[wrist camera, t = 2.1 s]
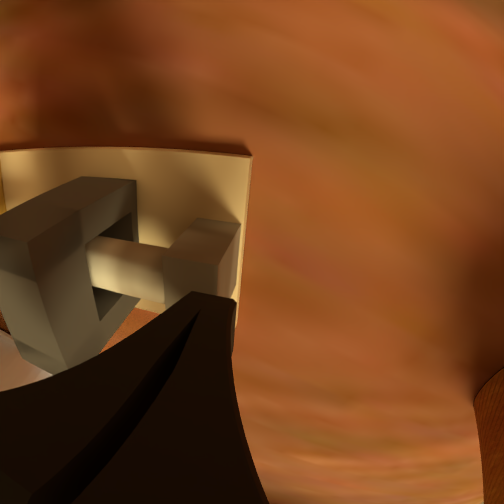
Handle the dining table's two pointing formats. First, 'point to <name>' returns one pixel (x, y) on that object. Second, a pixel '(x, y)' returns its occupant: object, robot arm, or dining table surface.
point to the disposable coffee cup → (491, 437)
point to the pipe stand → (152, 216)
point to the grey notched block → (63, 270)
